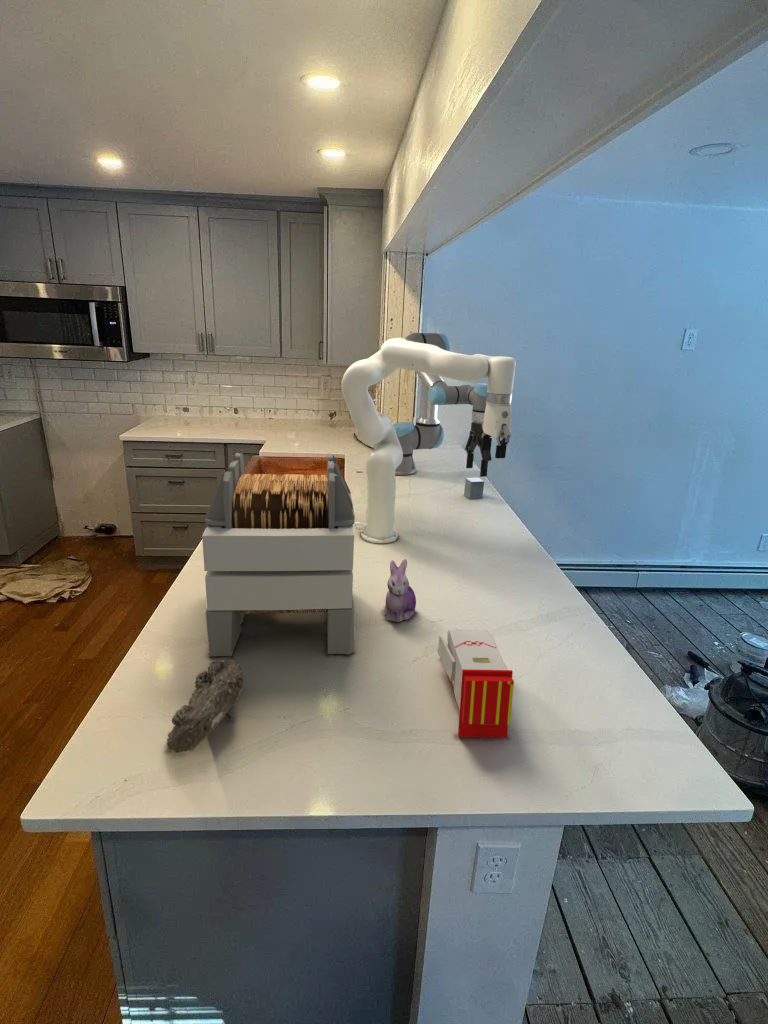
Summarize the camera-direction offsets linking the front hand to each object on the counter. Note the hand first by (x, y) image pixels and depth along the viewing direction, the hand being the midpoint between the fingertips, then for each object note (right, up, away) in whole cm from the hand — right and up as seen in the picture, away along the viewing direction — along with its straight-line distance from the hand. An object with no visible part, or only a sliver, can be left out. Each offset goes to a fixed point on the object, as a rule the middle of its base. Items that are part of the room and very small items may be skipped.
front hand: (492, 454), depth 177 cm
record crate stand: (-59, -45, -34) cm, 81 cm away
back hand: (+5, -1, +63) cm, 63 cm away
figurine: (-30, -45, -29) cm, 61 cm away
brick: (+4, -12, +67) cm, 68 cm away
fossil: (-67, -57, -69) cm, 112 cm away
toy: (-16, -56, -58) cm, 82 cm away
